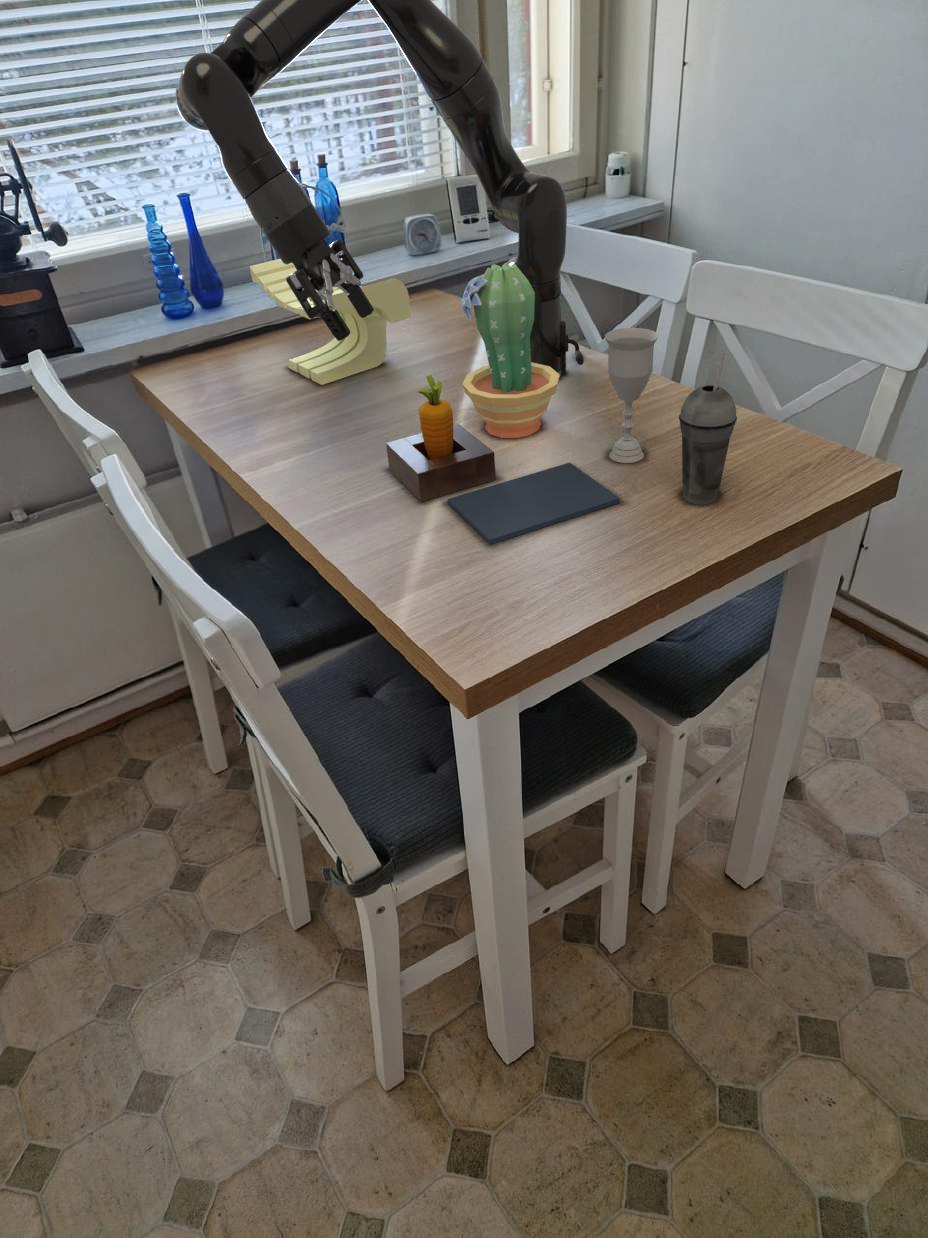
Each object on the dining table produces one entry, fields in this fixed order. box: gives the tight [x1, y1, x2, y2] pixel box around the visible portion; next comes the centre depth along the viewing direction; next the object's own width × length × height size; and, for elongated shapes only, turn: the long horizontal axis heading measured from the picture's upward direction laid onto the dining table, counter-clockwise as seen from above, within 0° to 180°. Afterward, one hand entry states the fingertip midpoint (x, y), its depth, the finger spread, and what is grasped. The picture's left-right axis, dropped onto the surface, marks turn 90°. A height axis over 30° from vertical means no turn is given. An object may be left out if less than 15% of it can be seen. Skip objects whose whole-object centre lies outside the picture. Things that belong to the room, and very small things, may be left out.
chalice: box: [604, 327, 659, 464], centre depth 127 cm, size 7×7×18 cm
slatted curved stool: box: [249, 258, 412, 386], centre depth 167 cm, size 30×16×18 cm, turn 37°
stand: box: [385, 423, 497, 503], centre depth 130 cm, size 12×12×4 cm
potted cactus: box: [461, 262, 560, 439], centre depth 136 cm, size 15×15×25 cm
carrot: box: [416, 374, 454, 460], centre depth 127 cm, size 5×5×15 cm
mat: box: [447, 462, 621, 545], centre depth 122 cm, size 20×13×1 cm, turn 116°
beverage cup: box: [678, 351, 738, 506], centre depth 114 cm, size 7×7×20 cm
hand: (357, 325), depth 123 cm, fingers open, 8 cm apart
